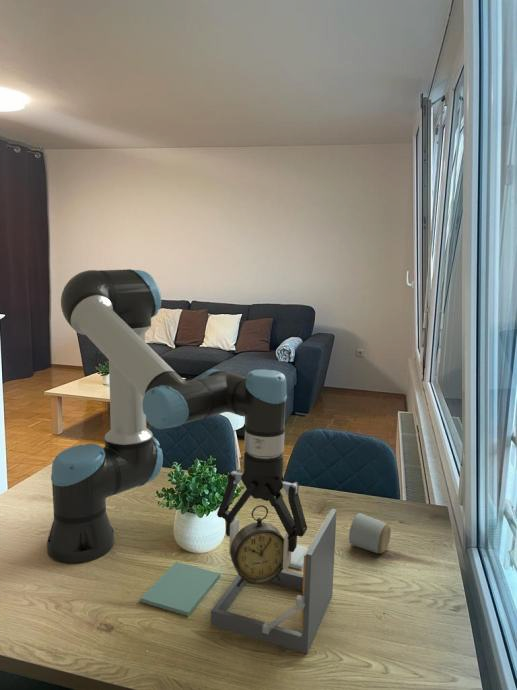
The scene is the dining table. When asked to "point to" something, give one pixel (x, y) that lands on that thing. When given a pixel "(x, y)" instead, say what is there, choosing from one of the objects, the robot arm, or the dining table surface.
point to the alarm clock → (258, 552)
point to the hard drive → (298, 557)
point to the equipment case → (311, 602)
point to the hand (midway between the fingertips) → (259, 557)
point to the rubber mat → (181, 588)
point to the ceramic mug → (369, 533)
